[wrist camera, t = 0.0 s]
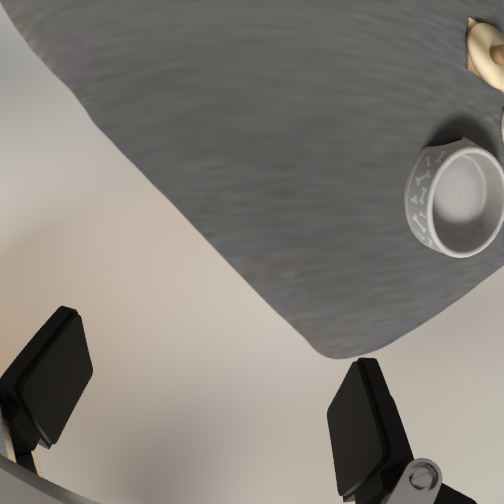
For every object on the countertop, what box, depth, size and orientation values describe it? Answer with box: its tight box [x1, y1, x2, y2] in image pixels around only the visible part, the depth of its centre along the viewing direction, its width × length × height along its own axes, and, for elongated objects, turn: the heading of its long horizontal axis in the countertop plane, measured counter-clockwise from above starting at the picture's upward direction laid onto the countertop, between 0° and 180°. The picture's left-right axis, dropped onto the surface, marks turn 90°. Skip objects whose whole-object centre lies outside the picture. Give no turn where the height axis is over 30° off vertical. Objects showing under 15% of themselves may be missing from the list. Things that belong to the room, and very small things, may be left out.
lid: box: [466, 23, 504, 89], centre depth 24 cm, size 11×11×6 cm
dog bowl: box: [404, 137, 504, 258], centre depth 35 cm, size 17×18×5 cm
